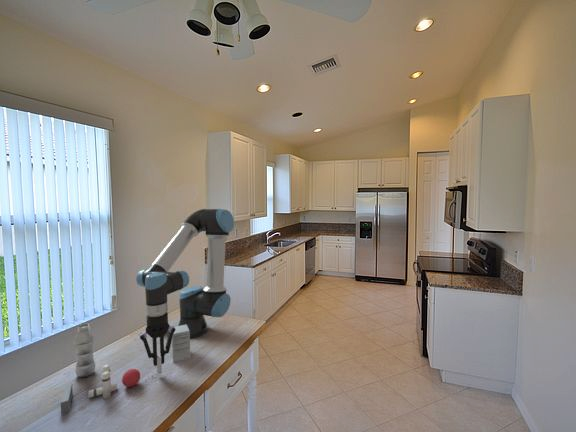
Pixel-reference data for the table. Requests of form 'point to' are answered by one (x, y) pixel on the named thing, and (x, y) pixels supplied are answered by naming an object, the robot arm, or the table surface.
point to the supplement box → (180, 343)
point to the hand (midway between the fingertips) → (159, 372)
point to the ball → (131, 378)
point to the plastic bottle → (84, 351)
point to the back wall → (66, 399)
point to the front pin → (99, 390)
